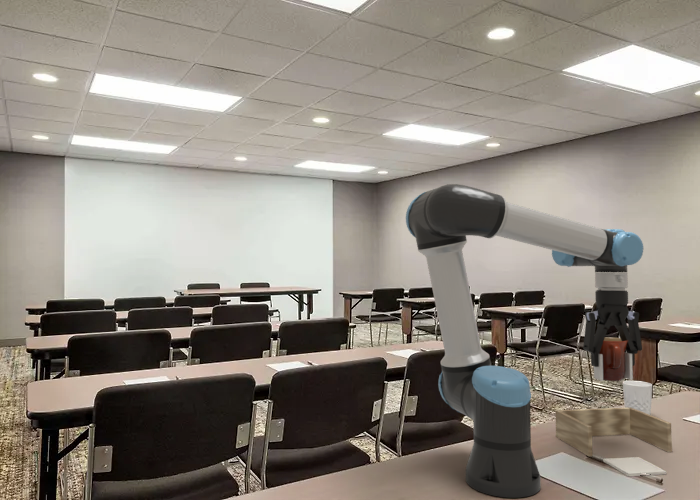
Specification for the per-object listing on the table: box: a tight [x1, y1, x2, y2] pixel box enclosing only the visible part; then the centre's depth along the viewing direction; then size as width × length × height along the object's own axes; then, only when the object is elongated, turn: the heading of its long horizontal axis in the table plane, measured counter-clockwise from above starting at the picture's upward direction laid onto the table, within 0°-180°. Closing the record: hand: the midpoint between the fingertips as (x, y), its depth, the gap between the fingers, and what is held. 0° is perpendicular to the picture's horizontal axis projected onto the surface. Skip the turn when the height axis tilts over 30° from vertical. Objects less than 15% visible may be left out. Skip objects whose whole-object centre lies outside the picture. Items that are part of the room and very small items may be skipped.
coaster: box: [602, 456, 668, 477], centre depth 118 cm, size 9×9×1 cm
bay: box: [555, 407, 673, 457], centre depth 134 cm, size 22×15×7 cm
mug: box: [592, 336, 628, 382], centre depth 133 cm, size 12×9×10 cm
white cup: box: [622, 380, 653, 415], centre depth 159 cm, size 8×8×10 cm
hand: (613, 378), depth 133 cm, fingers closed on mug, 7 cm apart
